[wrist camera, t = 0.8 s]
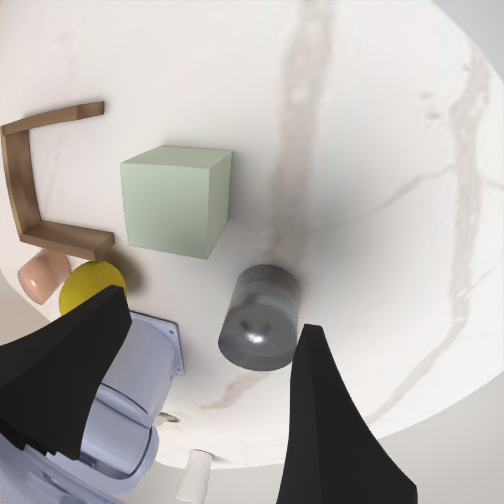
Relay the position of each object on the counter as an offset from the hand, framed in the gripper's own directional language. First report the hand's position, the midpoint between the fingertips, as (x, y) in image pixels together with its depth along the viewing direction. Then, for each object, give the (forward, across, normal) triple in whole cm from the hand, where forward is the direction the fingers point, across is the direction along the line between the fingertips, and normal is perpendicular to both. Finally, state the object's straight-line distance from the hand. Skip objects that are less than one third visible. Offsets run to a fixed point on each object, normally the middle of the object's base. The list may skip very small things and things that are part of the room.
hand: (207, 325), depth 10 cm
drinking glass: (+10, +6, +63) cm, 64 cm away
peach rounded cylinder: (+10, +21, +8) cm, 25 cm away
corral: (+10, +17, -2) cm, 20 cm away
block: (+10, +4, -2) cm, 11 cm away
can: (+10, -2, +6) cm, 12 cm away
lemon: (+10, +12, +7) cm, 17 cm away
